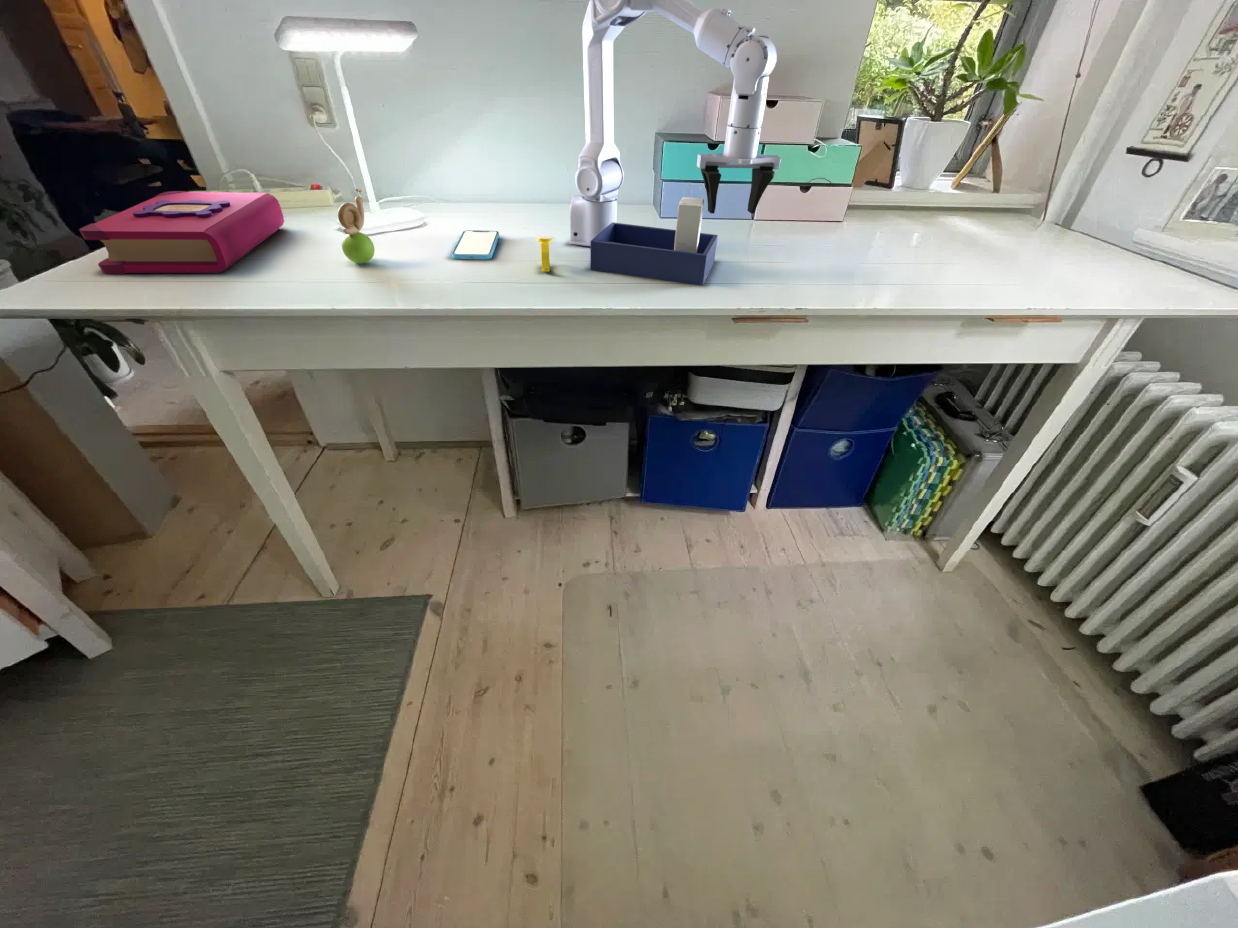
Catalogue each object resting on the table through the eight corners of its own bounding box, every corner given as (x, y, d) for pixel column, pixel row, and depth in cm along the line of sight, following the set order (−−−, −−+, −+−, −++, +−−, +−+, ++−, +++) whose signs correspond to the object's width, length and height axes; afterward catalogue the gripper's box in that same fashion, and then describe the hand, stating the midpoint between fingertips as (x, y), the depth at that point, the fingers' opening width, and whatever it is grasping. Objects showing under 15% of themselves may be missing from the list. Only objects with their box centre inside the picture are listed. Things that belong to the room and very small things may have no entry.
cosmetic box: (693, 275, 103) (702, 206, 96) (671, 272, 104) (677, 204, 96) (696, 264, 108) (704, 198, 100) (675, 262, 108) (681, 196, 101)
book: (287, 228, 118) (275, 189, 113) (229, 273, 96) (211, 228, 91) (182, 227, 115) (164, 188, 111) (98, 274, 94) (72, 227, 89)
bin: (590, 269, 104) (590, 241, 101) (611, 249, 114) (611, 222, 111) (702, 285, 100) (706, 255, 96) (714, 262, 110) (717, 235, 107)
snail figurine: (387, 259, 105) (371, 190, 97) (364, 269, 100) (346, 198, 92) (363, 255, 106) (346, 187, 99) (339, 265, 101) (320, 194, 94)
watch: (553, 275, 101) (552, 242, 97) (538, 275, 101) (536, 241, 97) (553, 264, 106) (552, 232, 102) (538, 264, 105) (536, 232, 102)
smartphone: (450, 254, 105) (463, 230, 117) (451, 260, 106) (464, 235, 118) (490, 255, 106) (499, 231, 117) (491, 261, 107) (499, 236, 118)
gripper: (709, 128, 89) (698, 218, 97) (793, 130, 91) (776, 218, 99) (698, 122, 94) (688, 207, 102) (778, 124, 96) (762, 208, 104)
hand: (731, 212), depth 101 cm, fingers open, 7 cm apart
